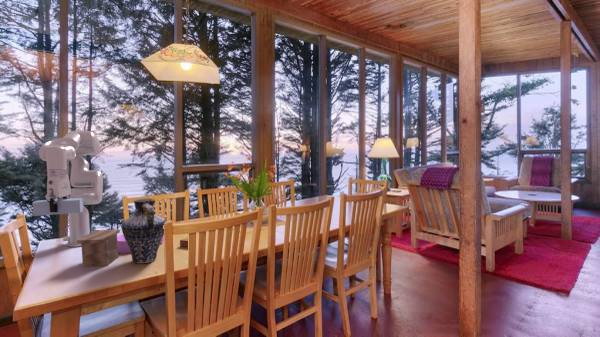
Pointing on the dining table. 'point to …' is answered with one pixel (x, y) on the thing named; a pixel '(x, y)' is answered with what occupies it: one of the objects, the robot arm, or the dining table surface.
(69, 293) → the dining table surface
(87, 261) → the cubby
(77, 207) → the block
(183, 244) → the carton
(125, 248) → the pink rectangular box
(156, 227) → the jug
